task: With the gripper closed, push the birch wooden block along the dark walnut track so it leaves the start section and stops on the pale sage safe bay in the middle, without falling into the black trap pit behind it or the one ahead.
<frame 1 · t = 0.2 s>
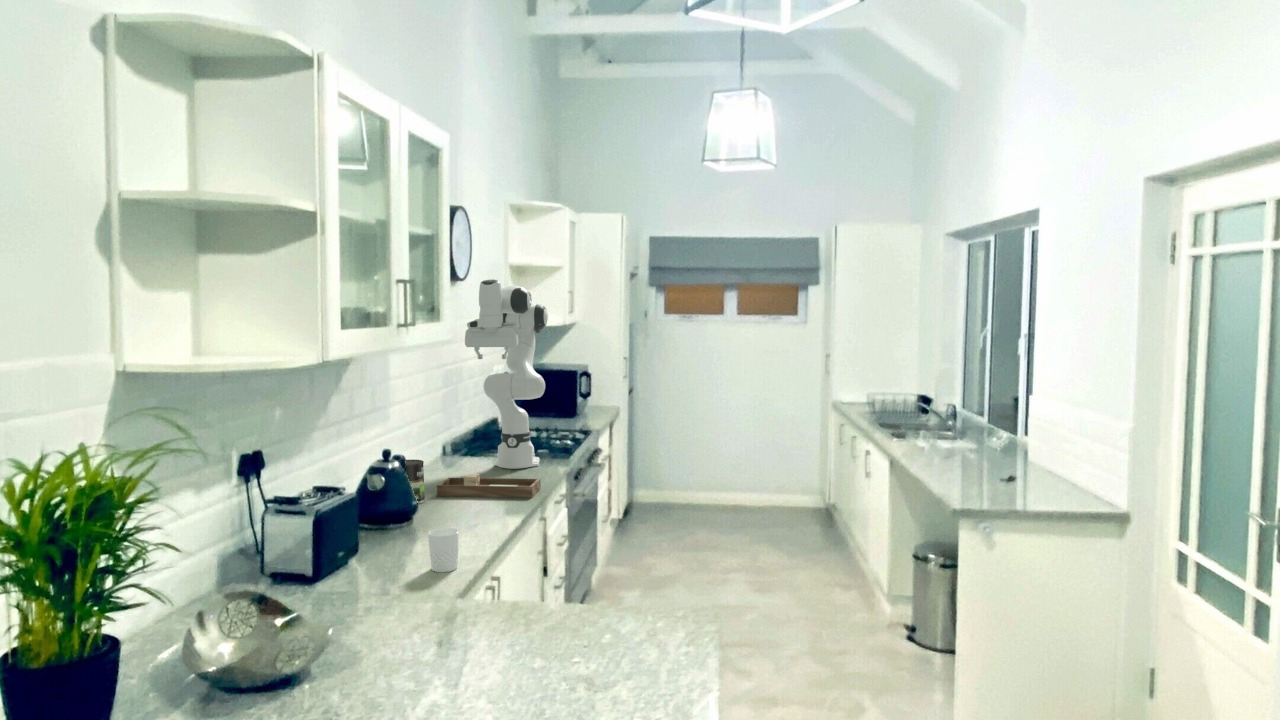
hand: (492, 359, 334), 47 cm above the worktop, fingers open, 8 cm apart
coffee can: (409, 502, 309), on the worktop
white cup: (444, 569, 234), on the worktop
birch block: (472, 487, 321), point 2 cm above the worktop, touching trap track
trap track: (489, 492, 320), on the worktop
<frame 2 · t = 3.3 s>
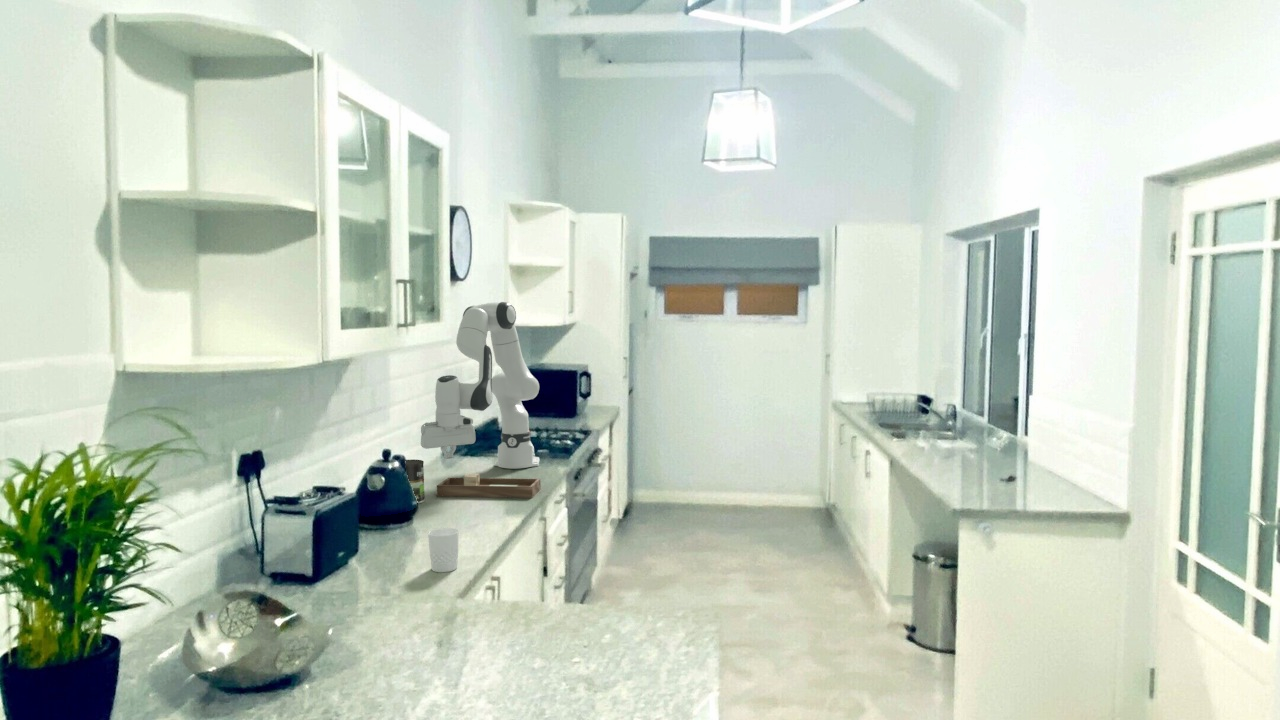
hand: (448, 458, 321), 13 cm above the worktop, fingers closed
nothing on the worktop moved.
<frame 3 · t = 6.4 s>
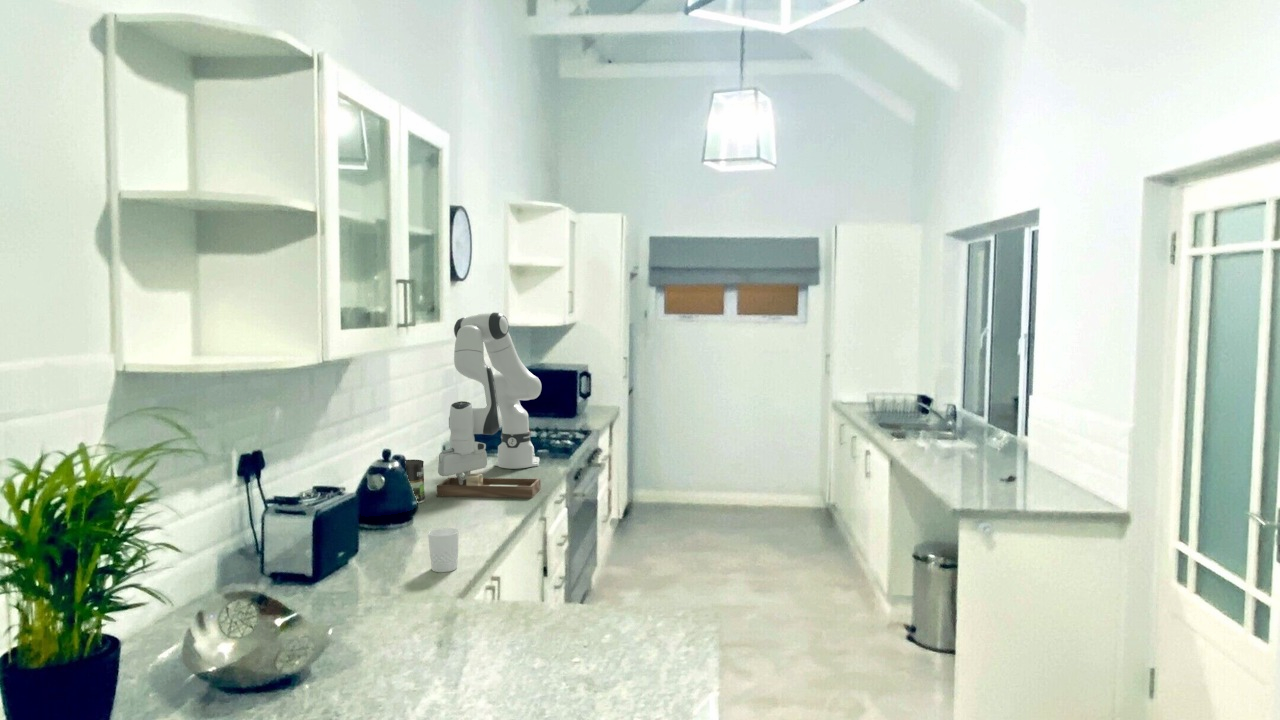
hand: (463, 484, 321), 3 cm above the worktop, fingers closed
birch block: (474, 487, 321), point 2 cm above the worktop, touching gripper, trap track
everything else where it was.
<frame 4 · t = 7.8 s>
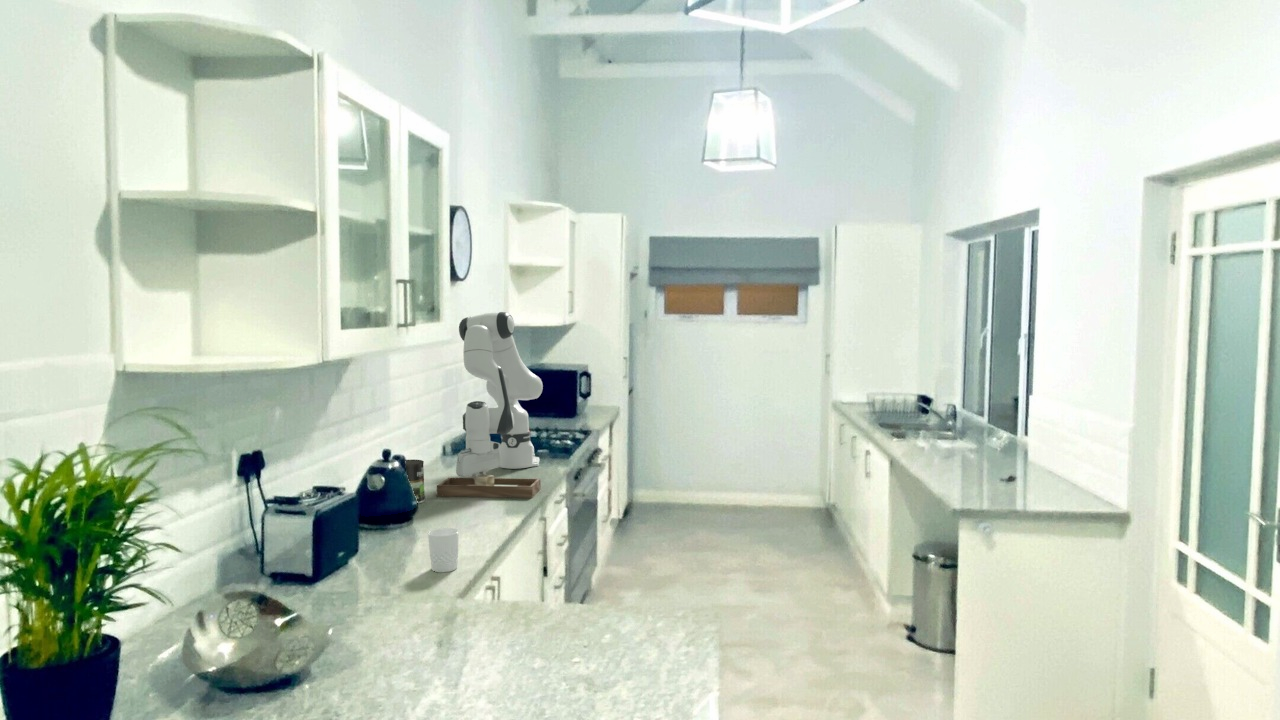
hand: (479, 484, 320), 3 cm above the worktop, fingers closed, pressing on birch block
birch block: (485, 488, 319), point 2 cm above the worktop, touching gripper
everything else where it was.
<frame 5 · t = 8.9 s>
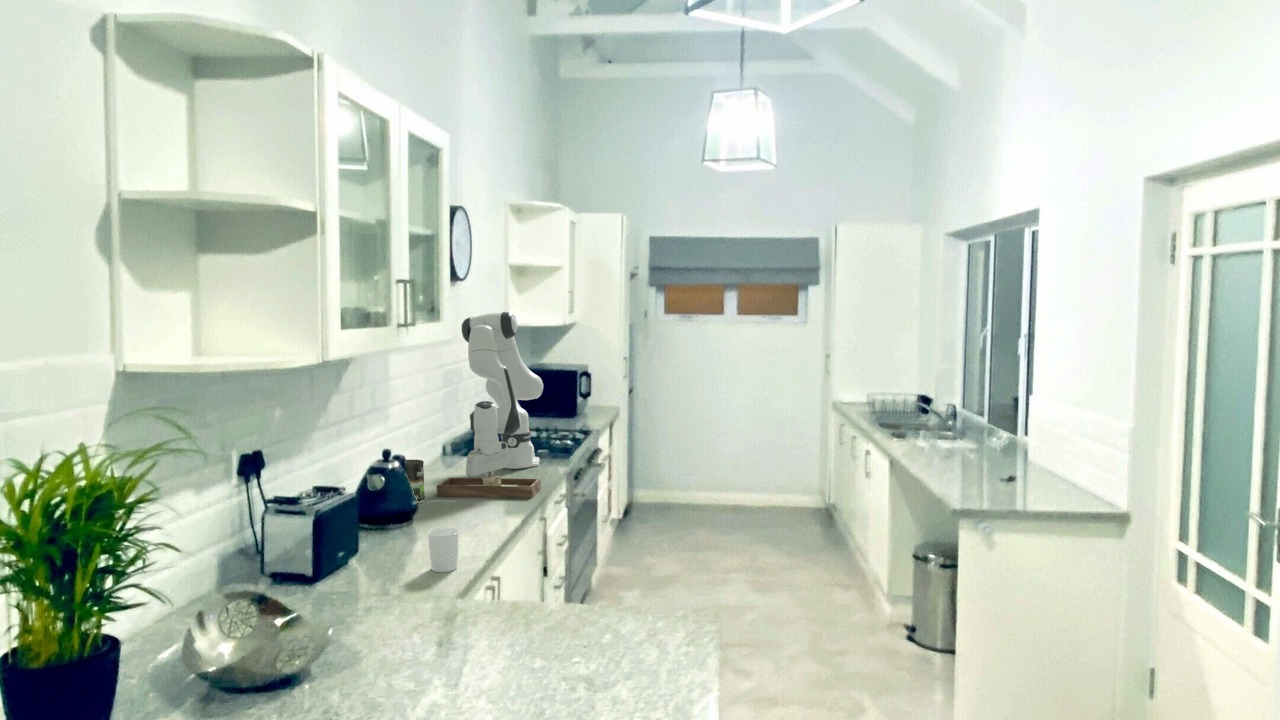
hand: (487, 484, 320), 3 cm above the worktop, fingers closed
birch block: (492, 489, 318), point 2 cm above the worktop, touching gripper, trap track
everything else where it was.
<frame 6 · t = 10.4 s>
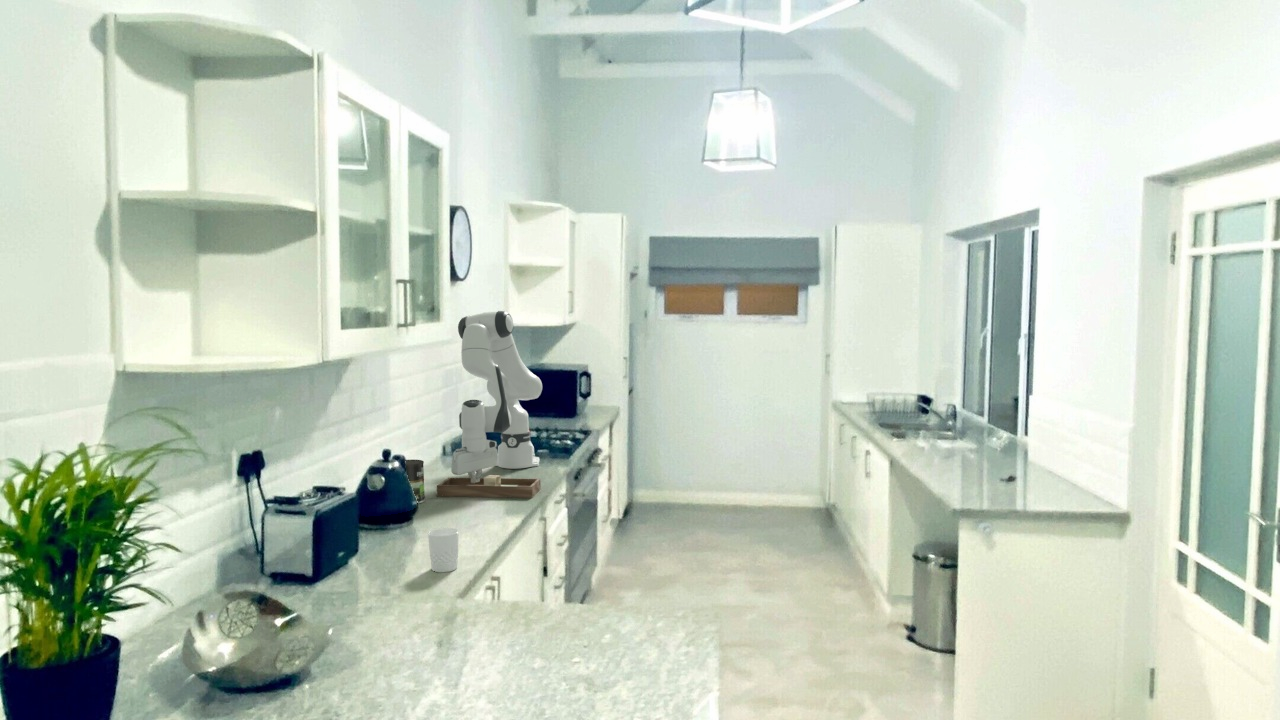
hand: (475, 482, 321), 4 cm above the worktop, fingers closed
birch block: (492, 488, 318), point 2 cm above the worktop, touching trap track
everything else where it was.
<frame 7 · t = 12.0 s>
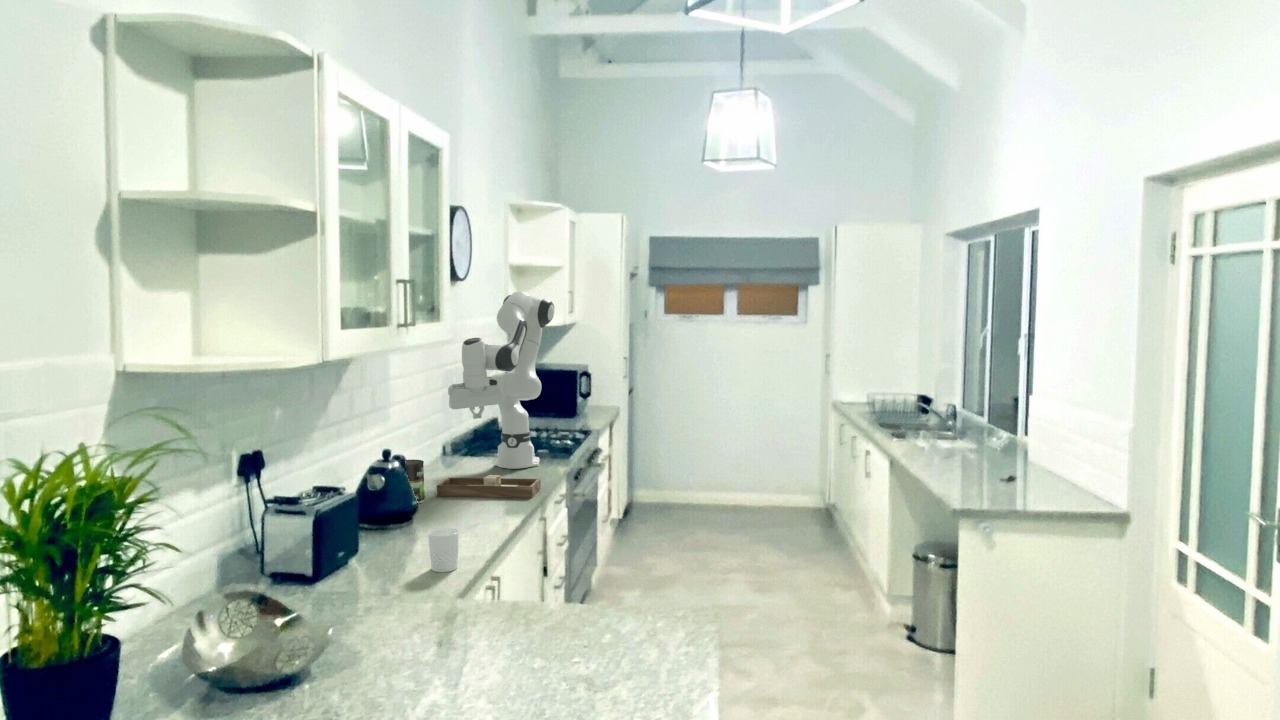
hand: (477, 418, 330), 26 cm above the worktop, fingers closed
nothing on the worktop moved.
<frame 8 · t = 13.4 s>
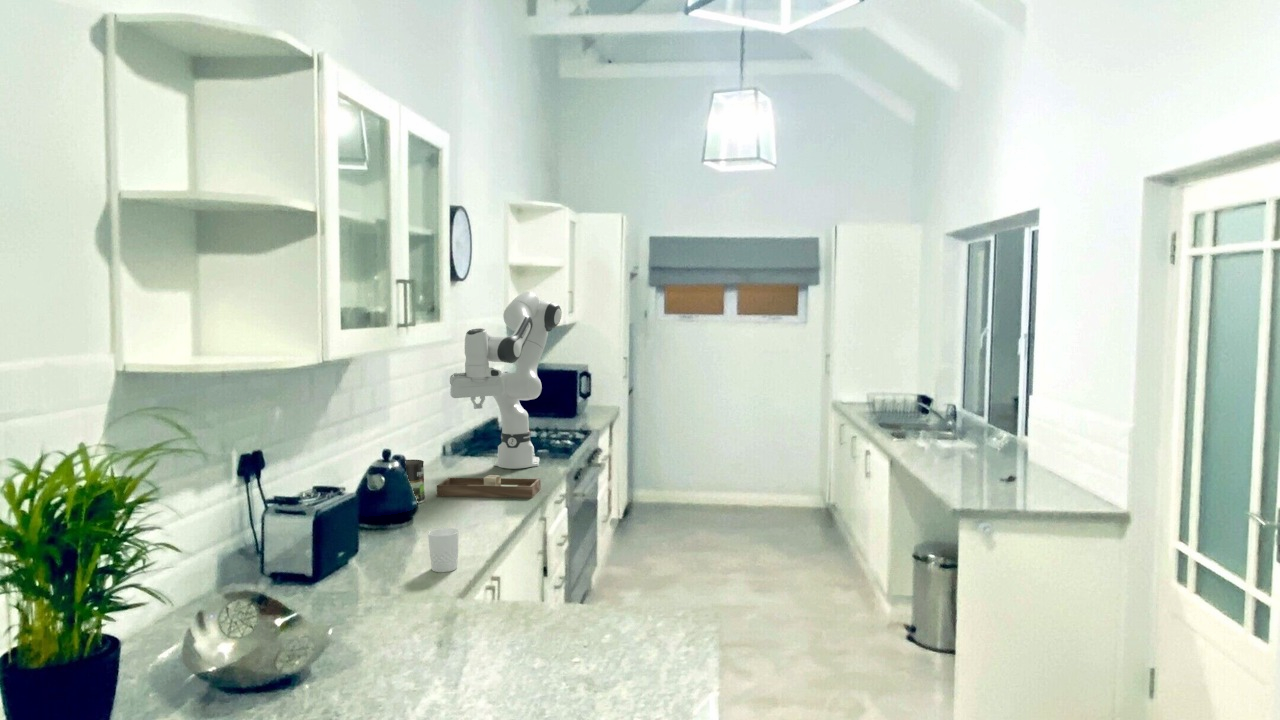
hand: (478, 408, 332), 29 cm above the worktop, fingers closed
nothing on the worktop moved.
at the end: birch block inside the target area on the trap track (3.0 cm from its centre), point 2.0 cm above the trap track's base; birch block tilted 0° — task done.
